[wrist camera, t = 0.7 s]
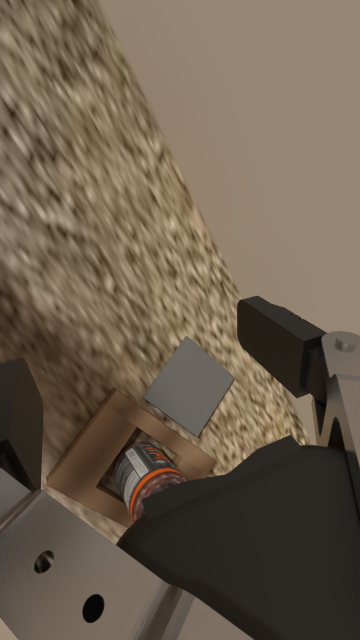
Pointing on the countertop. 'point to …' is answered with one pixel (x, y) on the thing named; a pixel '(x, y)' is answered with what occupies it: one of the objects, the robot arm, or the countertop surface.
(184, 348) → the rubber mat
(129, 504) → the supplement bottle
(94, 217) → the countertop surface
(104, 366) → the countertop surface
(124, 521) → the walnut holder
